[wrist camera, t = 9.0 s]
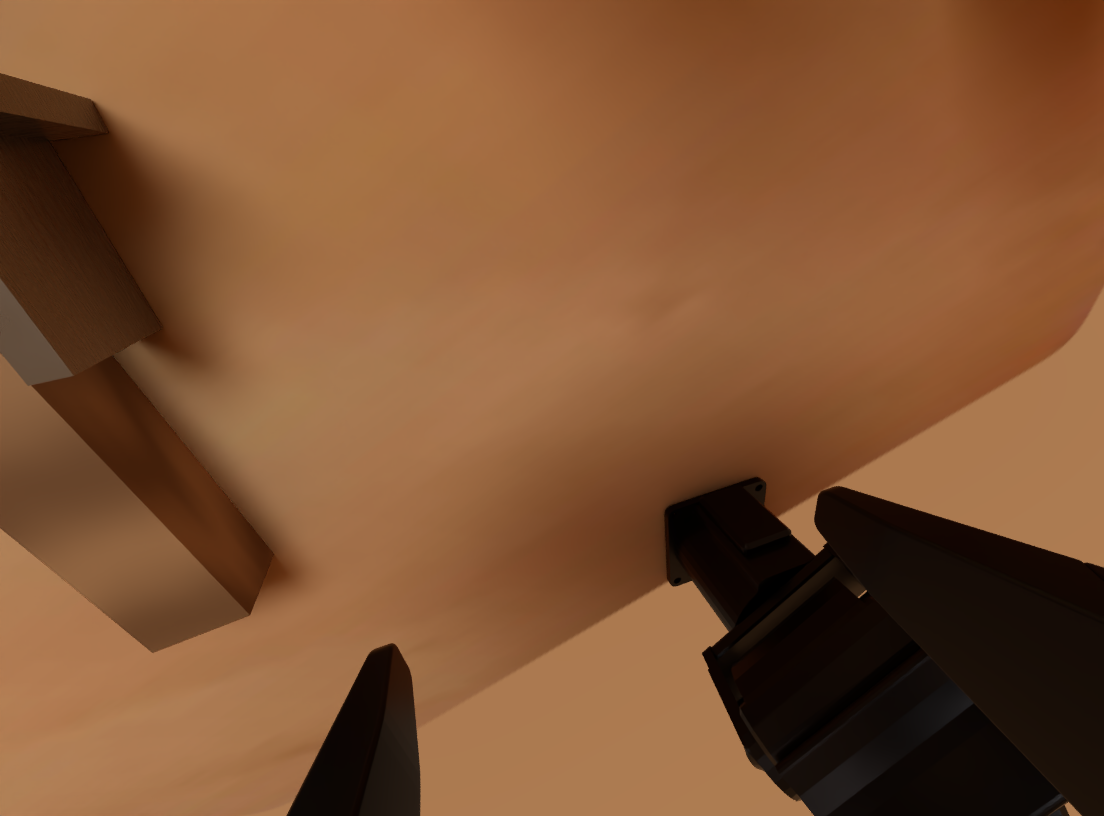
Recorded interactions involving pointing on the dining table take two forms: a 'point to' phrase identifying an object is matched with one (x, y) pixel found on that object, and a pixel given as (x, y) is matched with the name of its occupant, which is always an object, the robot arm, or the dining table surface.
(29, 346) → the bracket
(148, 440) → the rail
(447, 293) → the dining table surface
